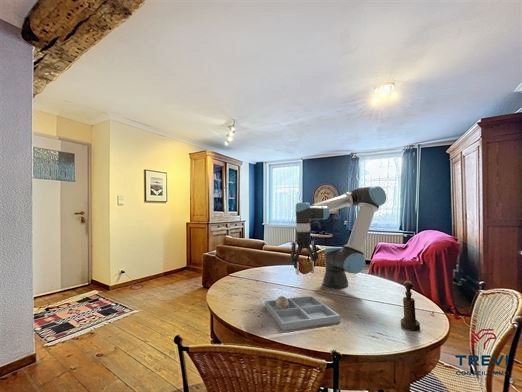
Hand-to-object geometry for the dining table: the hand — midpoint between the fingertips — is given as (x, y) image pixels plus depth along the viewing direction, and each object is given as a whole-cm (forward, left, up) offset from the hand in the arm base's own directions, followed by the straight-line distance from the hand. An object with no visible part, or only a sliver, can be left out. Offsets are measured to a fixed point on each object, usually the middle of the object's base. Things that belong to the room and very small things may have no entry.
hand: (304, 273), depth 134 cm
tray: (+12, +20, -13) cm, 27 cm away
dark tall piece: (-25, +43, -13) cm, 51 cm away
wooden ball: (+18, +14, -12) cm, 26 cm away
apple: (0, 0, -1) cm, 1 cm away
